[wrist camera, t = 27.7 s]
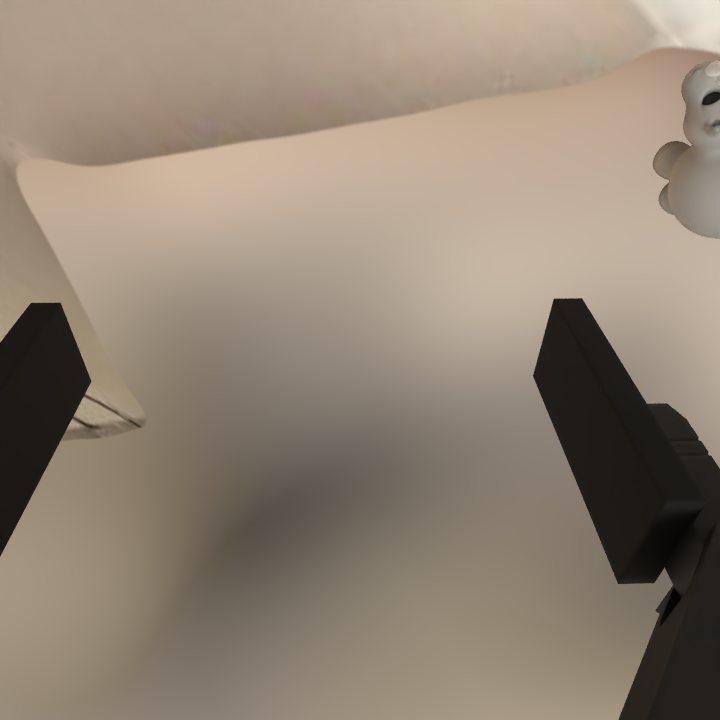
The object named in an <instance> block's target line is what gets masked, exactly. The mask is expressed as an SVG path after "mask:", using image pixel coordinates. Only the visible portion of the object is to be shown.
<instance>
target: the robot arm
mask: <svg viewBox="0 0 720 720" xmlns="http://www.w3.org/2000/svg"><path fill="white" fill-rule="evenodd" d="M533 377H534V379H535V382H536V384H537V387H538V389H539V392H540V394H541V397H542V399H543V401H544V404H545V406H546V409H547V411H548V413H549V416H550V419H551V421H552V423H553V426H554V428H555V431H556V433H557V436H558V438H559V440H560V443H561V445H562V448H563V450H564V453H565V455H566V458H567V460H568V462H569V465H570V467H571V470H572V472H573V475H574V477H575V479H576V482H577V484H578V487H579V489H580V491H581V494H582V496H583V499H584V502H585V504H586V506H587V509H588V511H589V514H590V516H591V518H592V521H593V523H594V526H595V528H596V531H597V533H598V536H599V538H600V541H601V543H602V545H603V548H604V550H605V553H606V555H607V558H608V560H609V562H610V565H611V567H612V570H613V572H614V575H615V577H616V580H617V582H618V584H631V583H632V584H633V583H654V582H655V581H656V580H657V578H658V577H659V575H660V574H661V572H662V570H663V569H664V567H665V569H666V571H667V573H668V575H669V577H670V579H671V581H672V583H673V586H672V588H671V589H670V590H669V592H668V593H667V595H666V596H665V598H664V599H663V600H662V602H661V603H660V605H659V606H658V608H657V609H656V612H658V613H660V615H659V617H658V620H657V622H656V625H655V627H654V630H653V633H652V635H651V638H650V640H649V643H648V645H647V648H646V651H645V653H644V656H643V658H642V661H641V663H640V666H639V668H638V671H637V673H636V676H635V679H634V681H633V684H632V686H631V689H630V692H629V694H628V697H627V699H626V702H625V704H624V707H623V709H622V712H621V714H620V717H619V720H720V469H719V467H718V465H717V464H716V462H715V461H714V459H713V458H712V456H709V455H708V451H707V449H706V448H705V446H704V445H703V443H702V442H701V441H699V440H698V436H697V434H696V433H695V431H694V430H693V428H692V427H691V425H690V424H689V422H688V421H687V419H686V418H684V417H683V416H682V415H681V414H679V413H678V412H677V411H676V410H674V409H673V408H672V407H671V406H669V405H668V404H647V403H646V402H645V400H644V399H643V397H642V395H641V394H640V392H639V390H638V389H637V387H636V386H635V384H634V382H633V381H632V379H631V377H630V376H629V374H628V373H627V371H626V369H625V368H624V366H623V364H622V363H621V361H620V359H619V358H618V356H617V355H616V353H615V351H614V350H613V348H612V347H611V345H610V343H609V342H608V340H607V338H606V337H605V335H604V333H603V332H602V330H601V329H600V327H599V325H598V324H597V322H596V320H595V319H594V317H593V315H592V314H591V312H590V311H589V309H588V308H587V306H586V304H585V302H584V301H583V299H582V298H581V299H580V298H578V299H554V301H553V304H552V308H551V312H550V315H549V319H548V323H547V326H546V330H545V334H544V338H543V341H542V345H541V349H540V352H539V357H538V360H537V364H536V367H535V371H534V375H533ZM90 383H91V379H90V377H89V374H88V371H87V369H86V366H85V364H84V361H83V359H82V356H81V354H80V351H79V349H78V346H77V343H76V341H75V338H74V336H73V333H72V331H71V328H70V326H69V323H68V321H67V318H66V315H65V313H64V310H63V308H62V305H61V303H31V304H30V305H29V306H28V308H27V309H26V310H25V311H24V313H23V314H22V315H21V317H20V318H19V319H18V320H17V322H16V323H15V324H14V326H13V327H12V328H11V329H10V331H9V332H8V333H7V335H6V336H5V337H4V339H3V340H2V341H1V342H0V556H1V554H2V552H3V550H4V548H5V546H6V544H7V542H8V540H9V538H10V536H11V535H12V533H13V531H14V529H15V527H16V525H17V523H18V521H19V519H20V518H21V516H22V514H23V512H24V510H25V508H26V506H27V504H28V502H29V500H30V498H31V496H32V494H33V492H34V491H35V489H36V487H37V485H38V483H39V481H40V479H41V477H42V475H43V473H44V471H45V469H46V468H47V466H48V464H49V462H50V460H51V458H52V456H53V454H54V452H55V450H56V448H57V446H58V445H59V443H60V441H61V439H62V437H63V435H64V433H65V431H66V429H67V427H68V425H69V423H70V422H71V420H72V418H73V416H74V414H75V412H76V410H77V408H78V406H79V404H80V402H81V400H82V398H83V397H84V395H85V393H86V391H87V389H88V387H89V385H90Z"/></svg>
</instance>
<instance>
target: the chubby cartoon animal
mask: <svg viewBox="0 0 720 720" xmlns="http://www.w3.org/2000/svg"><path fill="white" fill-rule="evenodd" d="M682 96H683V99H684V101H685V103H686V114H685V118H684V124H683V129H684V133H685V136H686V138H687V139H688V141H689V142H690V143H691V144H693V145H692V146H691V147H690V146H689V145H687V144H685V143H683V142H678V141H674V142H669V143H667V144H665V145H664V146H662V147H661V148H660V149H659V151H658V152H657V154H656V155H655V158H654V161H653V167H654V170H655V172H656V173H657V174H658V175H659V176H661V177H663V178H665V179H669V183H668V184H667V185H666V186H665V187H664V188H663V189H662V191H661V193H660V196H659V204H660V205H661V207H662V209H664V210H665V211H666V212H667V213H669V214H672V215H675V217H676V218H677V220H678V221H679V222H680V223H681V224H682V225H683V226H684V227H686V228H687V229H688V230H690V231H692V232H694V233H696V234H698V235H701V236H704V237H708V238H716V239H720V60H719V61H705V62H703V63H701V64H698V65H697V66H695V67H694V68H693V69H692V70H691V71H690V72H689V73H688V74H687V76H686V77H685V79H684V81H683V84H682Z"/></svg>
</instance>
